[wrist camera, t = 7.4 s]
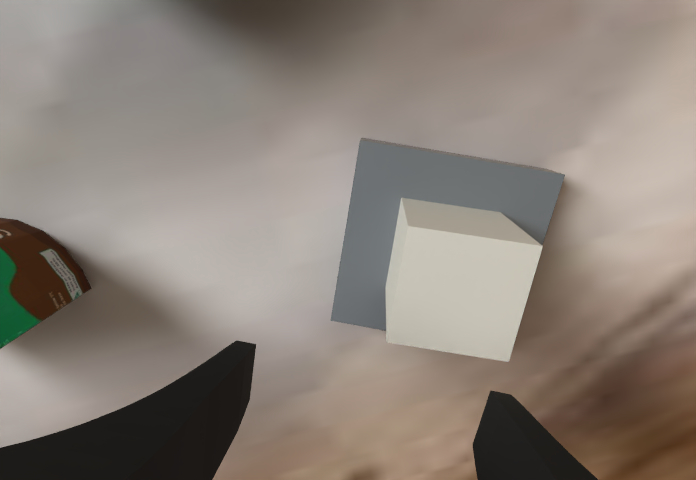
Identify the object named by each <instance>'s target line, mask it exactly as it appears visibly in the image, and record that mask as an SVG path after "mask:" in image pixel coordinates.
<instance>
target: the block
mask: <svg viewBox="0 0 696 480" xmlns="http://www.w3.org/2000/svg"><path fill="white" fill-rule="evenodd" d="M542 248H543V246H542V245H541V244H540V243H538V242H537V241H536V240H535V239H533V238H532V237H531V236H530V235H528V234H527V233H526V232H525V231H523V230H522V229H521V228H520V227H518V226H517V225H516V224H515V223H513V222H512V221H511V220H510V219H508V218H507V217H506V216H505V215H503V214H502V213H501V212H495V211H489V210H482V209H475V208H468V207H462V206H455V205H448V204H441V203H434V202H428V201H421V200H414V199H407V198H401V202H400V208H399V214H398V219H397V225H396V231H395V236H394V242H393V248H392V253H391V259H390V265H389V270H388V276H387V282H386V287H385V291H386V339H387V343H393V344H400V345H406V346H412V347H418V348H425V349H431V350H437V351H443V352H449V353H456V354H462V355H468V356H474V357H480V358H487V359H493V360H499V361H505V362H509V360H510V356H511V353H512V349H513V346H514V343H515V339H516V336H517V332H518V329H519V326H520V322H521V319H522V315H523V312H524V309H525V305H526V302H527V298H528V295H529V292H530V288H531V285H532V282H533V278H534V275H535V271H536V268H537V265H538V261H539V258H540V254H541V251H542Z"/></svg>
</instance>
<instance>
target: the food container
mask: <svg viewBox="0 0 696 480" xmlns="http://www.w3.org/2000/svg"><path fill="white" fill-rule="evenodd" d="M90 289H91V287H90V285H89V283H88V280H87V278H86V276H85V274H84V272H83V270H82V269H81V268H80V266H79V265H78V264H77V263H76V261H75V260H74V259H73V258H72V256H71V255H70V254H69V253H68V251H67V250H66V249H65V248H64V247H63V246H62V245H60V244H59V243H58V242H56V241H55V240H54V239H52V238H51V237H50V236H49V235H47V234H46V233H45V232H43V231H42V230H40V229H37V228H35V227H32V226H30V225H28V224H25V223H23V222H21V221H18V220H13V219H5V218H0V349H1V348H2V347H4V346H5V345H7V344H8V343H10V342H11V341H13V340H14V339H16V338H17V337H19V336H20V335H22V334H23V333H25V332H26V331H28V330H29V329H31V328H32V327H34V326H35V325H37V324H38V323H40V322H41V321H43V320H44V319H46V318H47V317H49V316H51V315H52V314H54V313H55V312H57V311H58V310H60V309H61V308H63V307H64V306H66V305H67V304H69V303H70V302H72V301H73V300H75V299H76V298H78V297H79V296H81V295H82V294H84V293H85V292H87V291H88V290H90Z"/></svg>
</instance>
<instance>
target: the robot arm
mask: <svg viewBox="0 0 696 480" xmlns="http://www.w3.org/2000/svg"><path fill="white" fill-rule="evenodd" d="M255 349H256V344H252V343H246V342H241V341H235V342H234V343H232V344H231V345H229V346H228V347H226V348H225V349H223V350H222V351H220V352H219V353H218V354H216V355H215V356H213V357H212V358H210V359H209V360H207V361H206V362H204V363H203V364H201V365H200V366H198V367H197V368H195V369H194V370H192V371H191V372H189V373H188V374H186V375H184V376H183V377H181V378H179V379H178V380H176V381H174V382H173V383H171V384H169V385H168V386H166V387H164V388H162V389H161V390H159V391H157V392H155V393H153V394H151V395H149V396H147V397H145V398H143V399H141V400H139V401H137V402H135V403H132V404H130V405H128V406H126V407H124V408H121V409H119V410H117V411H114V412H111V413H109V414H106V415H104V416H101V417H99V418H96V419H94V420H91V421H89V422H86V423H84V424H81V425H78V426H75V427H72V428H69V429H66V430H63V431H60V432H57V433H53V434H50V435H47V436H44V437H40V438H37V439H33V440H30V441H26V442H22V443H18V444H14V445H10V446H6V447H2V448H0V480H212V479H213V477H214V475H215V473H216V471H217V469H218V468H219V466H220V464H221V462H222V460H223V458H224V456H225V454H226V452H227V450H228V449H229V447H230V445H231V443H232V441H233V439H234V437H235V435H236V433H237V431H238V429H239V426H240V424H241V421H242V418H243V416H244V413H245V411H246V408H247V405H248V403H249V399H250V391H251V383H252V374H253V366H254V357H255ZM473 451H474V459H475V466H476V472H477V478H478V480H598V479H597V478H596V477H595V476H593V475H592V474H591V473H590V472H589V471H588V470H587V469H586V468H585V467H584V466H583V465H581V464H580V463H579V462H578V461H577V460H576V459H575V458H574V457H573V456H572V455H571V454H570V453H569V452H568V451H567V450H566V449H565V448H564V447H563V446H562V445H561V444H560V443H559V442H558V441H557V440H556V439H555V438H554V437H553V436H552V435H551V434H550V433H549V432H548V431H547V430H546V429H545V428H544V427H543V426H542V425H541V424H540V423H539V422H538V421H537V420H536V419H535V418H534V417H533V416H532V415H531V414H530V413H529V412H528V411H527V410H526V409H525V408H524V407H523V406H522V405H521V404H520V403H519V402H518V401H517V400H516V399H515V398H514V397H513V396H512V395H510V394H505V393H500V392H495V391H490V394H489V397H488V400H487V403H486V406H485V409H484V412H483V415H482V418H481V421H480V424H479V427H478V430H477V433H476V436H475V439H474V442H473Z"/></svg>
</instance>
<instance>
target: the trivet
mask: <svg viewBox="0 0 696 480" xmlns="http://www.w3.org/2000/svg"><path fill="white" fill-rule="evenodd" d="M564 176H565V175H564V174H561V173H558V172H555V171H552V170H548V169H544V168H538V167H532V166H526V165H520V164H514V163H508V162H502V161H496V160H490V159H484V158H478V157H472V156H466V155H460V154H455V153H449V152H443V151H437V150H431V149H425V148H419V147H413V146H407V145H401V144H395V143H389V142H383V141H377V140H371V139H365V138H362V139H361V140H360V144H359V150H358V156H357V163H356V169H355V175H354V181H353V187H352V193H351V199H350V205H349V212H348V218H347V224H346V230H345V236H344V242H343V248H342V254H341V261H340V267H339V273H338V279H337V285H336V291H335V297H334V303H333V310H332V316H331V321H336V322H341V323H347V324H352V325H358V326H363V327H369V328H374V329H380V330H385V331H386V291H385V287H386V282H387V276H388V270H389V265H390V259H391V253H392V248H393V242H394V236H395V231H396V225H397V219H398V214H399V208H400V202H401V198H407V199H414V200H421V201H428V202H434V203H441V204H448V205H455V206H462V207H468V208H475V209H482V210H489V211H495V212H501V213H502V214H503V215H505V216H506V217H507V218H508V219H510V220H511V221H512V222H513V223H515V224H516V225H517V226H518V227H520V228H521V229H522V230H523V231H525V232H526V233H527V234H528V235H530V236H531V237H532V238H533V239H535V240H536V241H537V242H538V243H540V244H541V245H543V242H544V238H545V235H546V232H547V229H548V226H549V223H550V220H551V217H552V214H553V210H554V207H555V204H556V201H557V198H558V195H559V192H560V189H561V186H562V183H563V179H564Z"/></svg>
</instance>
